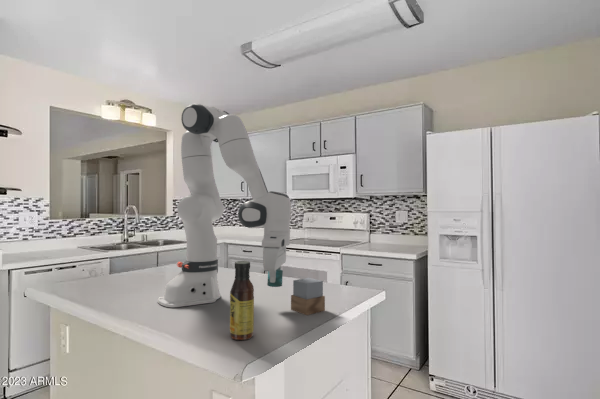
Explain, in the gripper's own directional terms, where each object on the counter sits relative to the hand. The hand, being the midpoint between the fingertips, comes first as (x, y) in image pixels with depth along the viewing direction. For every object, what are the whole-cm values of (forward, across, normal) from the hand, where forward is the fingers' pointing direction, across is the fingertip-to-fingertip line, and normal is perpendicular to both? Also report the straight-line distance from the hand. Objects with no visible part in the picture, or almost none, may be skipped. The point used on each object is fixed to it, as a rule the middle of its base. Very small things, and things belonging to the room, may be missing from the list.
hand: (274, 280), depth 121 cm
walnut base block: (+9, 0, +12) cm, 15 cm away
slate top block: (+4, 0, +12) cm, 12 cm away
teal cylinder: (+2, 0, 0) cm, 2 cm away
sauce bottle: (+10, +28, -3) cm, 29 cm away
